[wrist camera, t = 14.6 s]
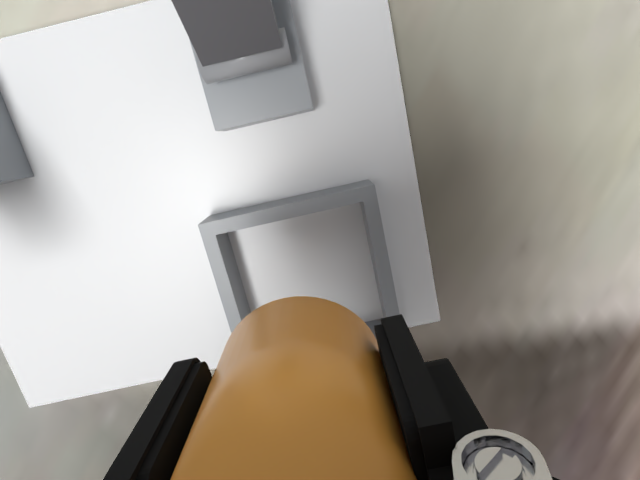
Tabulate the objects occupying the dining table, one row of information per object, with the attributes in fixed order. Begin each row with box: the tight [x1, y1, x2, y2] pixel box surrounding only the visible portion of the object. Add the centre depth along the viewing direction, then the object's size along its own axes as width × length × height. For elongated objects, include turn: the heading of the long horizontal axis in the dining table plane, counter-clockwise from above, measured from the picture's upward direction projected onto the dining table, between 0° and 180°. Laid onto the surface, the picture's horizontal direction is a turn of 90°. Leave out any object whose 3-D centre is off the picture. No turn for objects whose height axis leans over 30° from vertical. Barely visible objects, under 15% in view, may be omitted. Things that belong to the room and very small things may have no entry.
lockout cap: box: [170, 296, 417, 480], centre depth 8 cm, size 4×4×6 cm
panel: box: [0, 0, 441, 408], centre depth 19 cm, size 17×22×4 cm
